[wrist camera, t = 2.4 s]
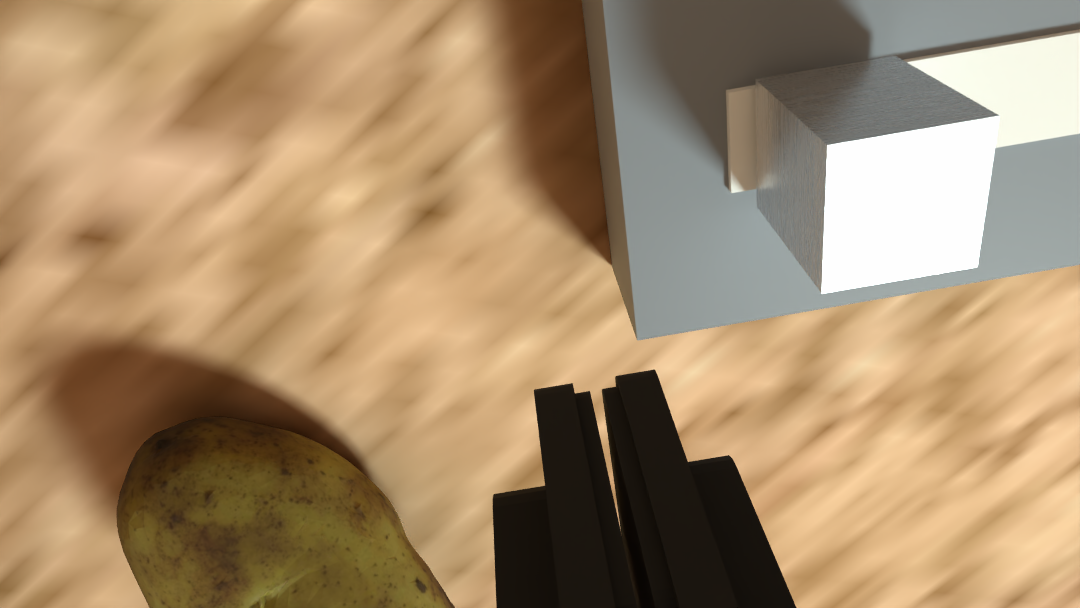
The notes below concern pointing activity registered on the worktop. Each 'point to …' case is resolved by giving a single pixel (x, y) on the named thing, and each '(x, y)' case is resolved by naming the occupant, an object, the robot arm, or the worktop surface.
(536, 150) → the worktop surface
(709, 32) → the panel
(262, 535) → the potato
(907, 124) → the slider knob
